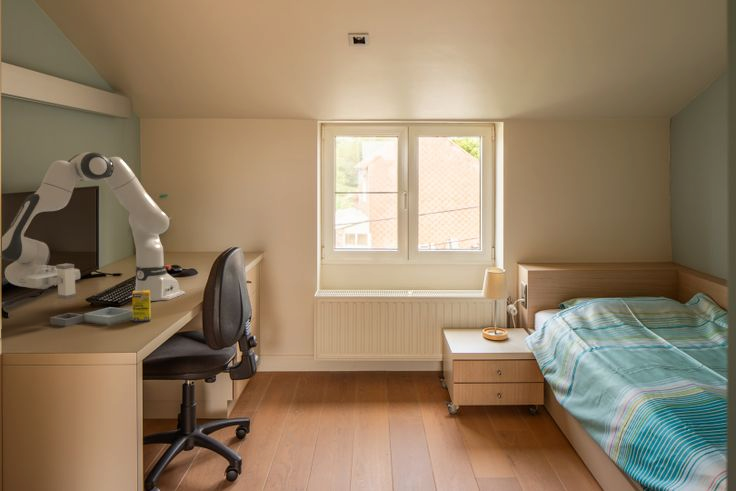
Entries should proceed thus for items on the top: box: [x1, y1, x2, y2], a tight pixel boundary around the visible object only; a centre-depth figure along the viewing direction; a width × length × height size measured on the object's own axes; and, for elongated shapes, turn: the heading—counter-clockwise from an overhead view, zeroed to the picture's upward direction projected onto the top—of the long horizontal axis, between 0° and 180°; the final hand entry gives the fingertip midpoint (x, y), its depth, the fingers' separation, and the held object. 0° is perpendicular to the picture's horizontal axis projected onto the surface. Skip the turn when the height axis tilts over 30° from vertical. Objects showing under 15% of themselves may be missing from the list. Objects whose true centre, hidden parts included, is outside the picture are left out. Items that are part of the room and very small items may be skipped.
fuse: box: [55, 262, 77, 300], centre depth 226 cm, size 4×4×12 cm
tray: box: [83, 306, 133, 326], centre depth 232 cm, size 12×12×3 cm
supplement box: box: [131, 289, 152, 323], centre depth 232 cm, size 6×6×11 cm
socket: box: [49, 312, 86, 328], centre depth 229 cm, size 12×8×2 cm
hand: (67, 279), depth 225 cm, fingers closed on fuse, 4 cm apart
